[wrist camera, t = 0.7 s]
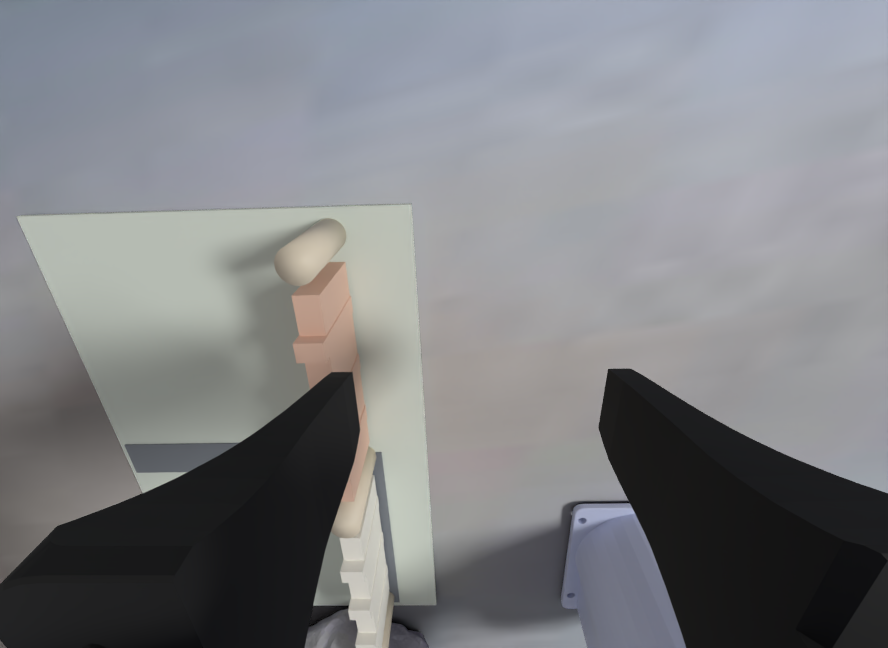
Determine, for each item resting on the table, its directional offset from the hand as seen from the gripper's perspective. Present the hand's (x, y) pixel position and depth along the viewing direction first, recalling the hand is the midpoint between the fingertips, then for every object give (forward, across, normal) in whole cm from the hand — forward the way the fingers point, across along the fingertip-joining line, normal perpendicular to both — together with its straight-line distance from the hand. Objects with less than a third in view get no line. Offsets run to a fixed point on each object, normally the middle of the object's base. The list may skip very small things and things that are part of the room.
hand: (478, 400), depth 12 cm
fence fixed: (+8, +6, +16) cm, 19 cm away
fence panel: (+8, +6, +2) cm, 10 cm away
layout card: (+8, +11, +9) cm, 17 cm away
